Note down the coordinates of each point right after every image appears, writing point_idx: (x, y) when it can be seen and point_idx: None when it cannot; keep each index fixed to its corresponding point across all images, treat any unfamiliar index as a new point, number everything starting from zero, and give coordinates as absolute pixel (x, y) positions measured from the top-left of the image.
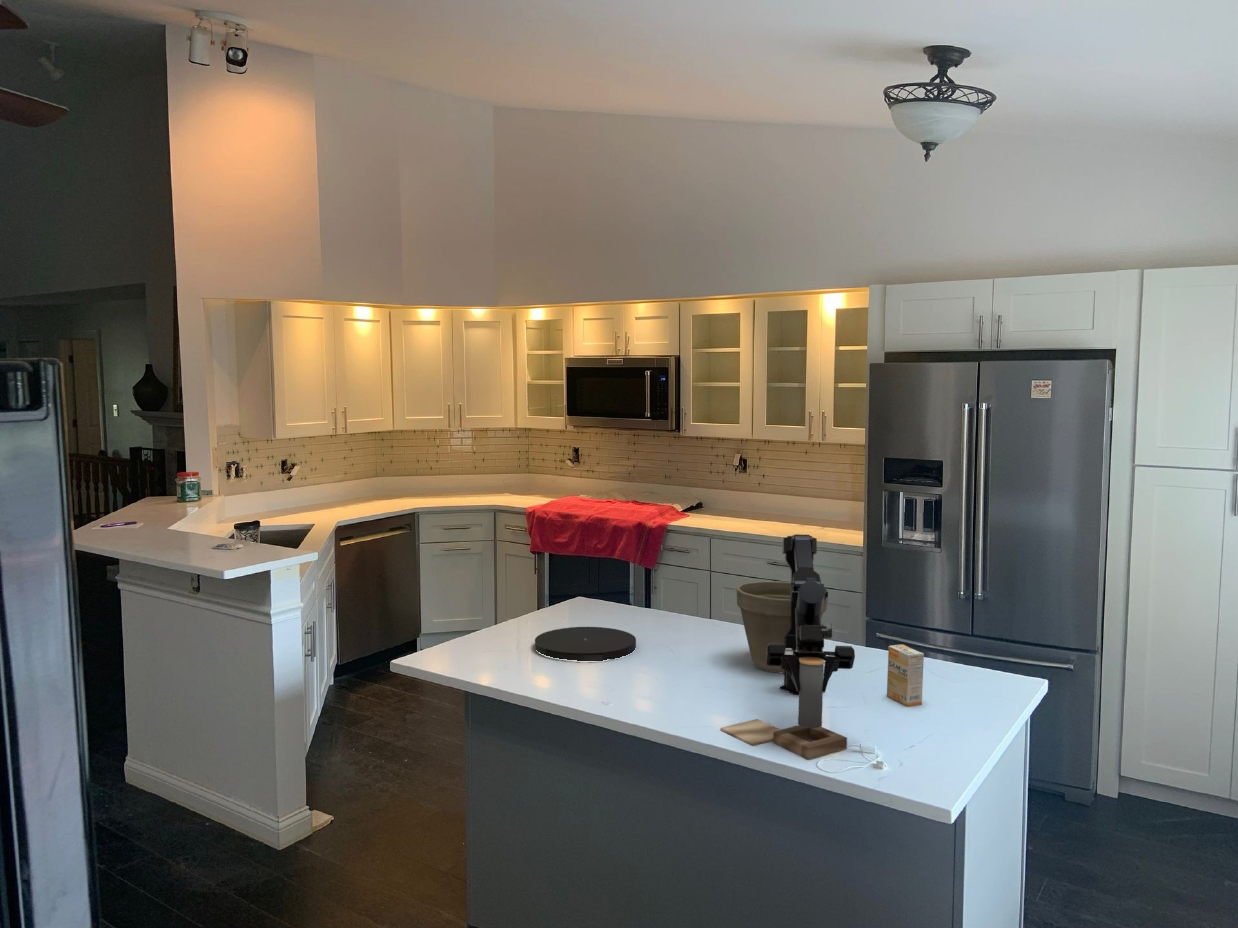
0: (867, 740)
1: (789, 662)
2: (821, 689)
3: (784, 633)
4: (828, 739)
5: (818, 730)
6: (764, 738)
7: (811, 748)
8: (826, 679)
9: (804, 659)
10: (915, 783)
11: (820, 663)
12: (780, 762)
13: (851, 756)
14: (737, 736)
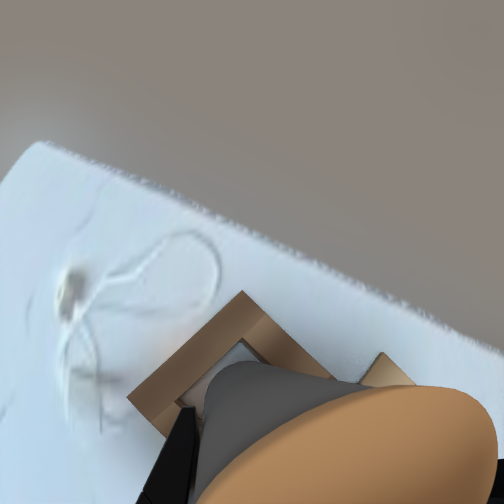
0: (85, 454)
1: (502, 462)
2: (208, 414)
3: None
4: (183, 373)
5: None
6: None
7: (236, 296)
8: (167, 464)
9: (457, 499)
10: (34, 212)
11: (236, 469)
12: (307, 266)
13: (125, 341)
14: (415, 384)
